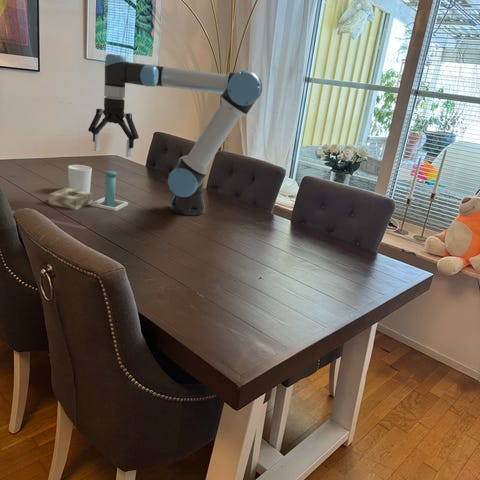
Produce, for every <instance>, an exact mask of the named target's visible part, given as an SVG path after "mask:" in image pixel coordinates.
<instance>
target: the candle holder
mask: <svg viewBox="0 0 480 480" xmlns="http://www.w3.org/2000/svg"><path fill="white" fill-rule="evenodd" d="M92 172H93V168H92V167H91V166H88V165H84V164H70V165H68V166H67V173H68V175H67V176H68V188H70V189H75V190H80V191H84V192H89V193H91V186H92V185H91V183H92Z"/></svg>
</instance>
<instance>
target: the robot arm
mask: <svg viewBox="0 0 480 480" xmlns="http://www.w3.org/2000/svg"><path fill="white" fill-rule="evenodd" d="M104 61H105V62H104V88H103V89H104V93H103V94H104V96H105V97H104V99H103V108H104V109H102V108H96V110H95V115H94V116H93V119H92V121H91V123H90V125H89V127H88V130H87V131H88V132H91V133H92V142H93V143H94V152H98V151H100V150H101V134H100V132H101V130H103V128H104V127H105V126H106V125H107V124H109V123H110V124H111V123H113V124H118V125H119V126H120V128H121V129H122V130H123V132H124V134H125V135H126V137H127V140H126V153H125V154H126V155H125V157H127V158H129V157H132V149H134V145H135V140H137V139H139V138H140V137H139V133H138V131H137V129H136V126H135V124H134V121H133V114H132V113H131V112H130V113H125V104H126V103H125V102H126V101H125V98H126V97H125V95H126V84H130V85H135V86H136V85H138V86H145V87H162V88H170V89H171V88H172V89H177V90H178V89H180V90H186V91H194V92H203V93H211V94H218V95H220V99H221V103H220V105H219V106H218V108H217V109H216V111H215V112H214V114H213V116H212V117H211V118H210V121H209V122H208V123H207V125H206V127H205V129H204V130H203V131H202V133H201V135H200V136H199V138H198V139H197V141H196V142H195V143H194V145H193V147H191V150H190V151H189V153H188V155H183V156H181V157H179V158H178V162H177V165H176V166H175V167H174V169H172V171H171V172H169V175H168V177H167V178H168V179H167V184H168V188H169V190H170V191H171V192H172V194H174V195H173V198H172V200H171V202H170V205H169V207H170V210H171V211H172V212H174V213H176V214H179V213H180V214H179V215H183V214H184V215H185V216H200V215H204V214H205V211H206V206H205V201H204V196H203V194H204V186H205V178H206V176H207V174H208V169H207V168H208V166H209V164H210V163H211V162H212V160H213V158H214V157H215V155H216V154H217V152H218V150H219V149H221V146H222V145H223V143H224V142H225V141H226V138H228V136H229V134H230V133H231V131H232V130H233V129H234V127H235V125H236V124H237V123H238V121H239V119H240V118H241V117H242V116H243V117H244V116H247V115H248V113H249V111H251V109H252V108H253V106H254V104H255V103H256V101H257V100H258V99H259V98H260V96H261V94H262V91H263V83H262V80H261V78H260V77H259V75H257V74H256V73H254V72H252V71H251V70H245V69H244V70H239V71H237V72H231V71H229V72H228V73H227V74H224V73H218V72H216V73H215V72H210V71H209V72H208V71H202V70H193V69H185V68H184V69H183V68H177V67H170V66H169V67H168V66H160V65H154V64H145V63H137V62H136V63H135V62H129V61H127V57H126V55H120V54H115V53H107V54H106V55H105V60H104ZM102 116H104V117H103V118H102V120H101V122H100V119H101V117H102ZM124 118H125V120H126V121H125V120H124ZM99 122H100V123H99ZM126 123H127V124H126ZM127 125H128V126H127Z"/></svg>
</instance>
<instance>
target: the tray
mask: <svg viewBox="0 0 480 480" xmlns="http://www.w3.org/2000/svg"><path fill="white" fill-rule="evenodd" d="M103 202H105V196H104V197H101V198H99V199H97V200H95V201H92V203H91V204H90V207H94V208H100V209H105V210H109V211H113V212H117V211H119V210H120V209H123V208H124V207H126V206H128V205H129V202H128V201H124V200H119V199H115V204H119V205H117V206H115V207H114V206H112V207H110V206H105V205H104V204H102V203H103Z"/></svg>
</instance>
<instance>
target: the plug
mask: <svg viewBox="0 0 480 480" xmlns="http://www.w3.org/2000/svg"><path fill="white" fill-rule="evenodd" d="M104 175H105V180H104V181H105V182H104V184H105V187H104V197H105V201H104V204H103V205H105V206H110V207H114V206H115V204H116V203H115V200H116V184H117V183H116V181H117V179H116V178H117V176H118V172H117V171H114V170H104ZM115 207H116V206H115Z"/></svg>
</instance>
